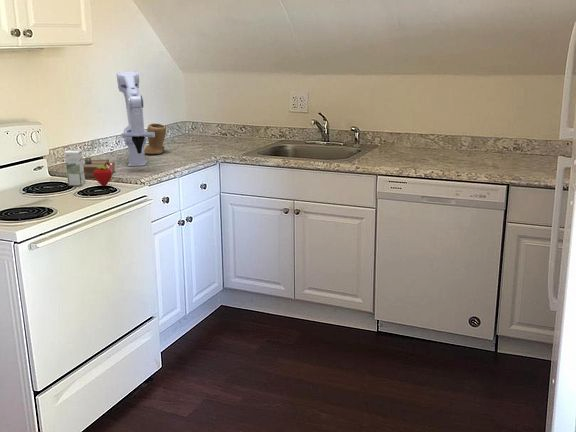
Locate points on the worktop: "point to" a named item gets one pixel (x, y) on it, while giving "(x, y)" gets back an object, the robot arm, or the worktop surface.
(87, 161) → the potentiometer
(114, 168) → the inner knob
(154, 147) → the brown boot
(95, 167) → the mount
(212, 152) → the worktop surface
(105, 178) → the strawberry
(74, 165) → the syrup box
